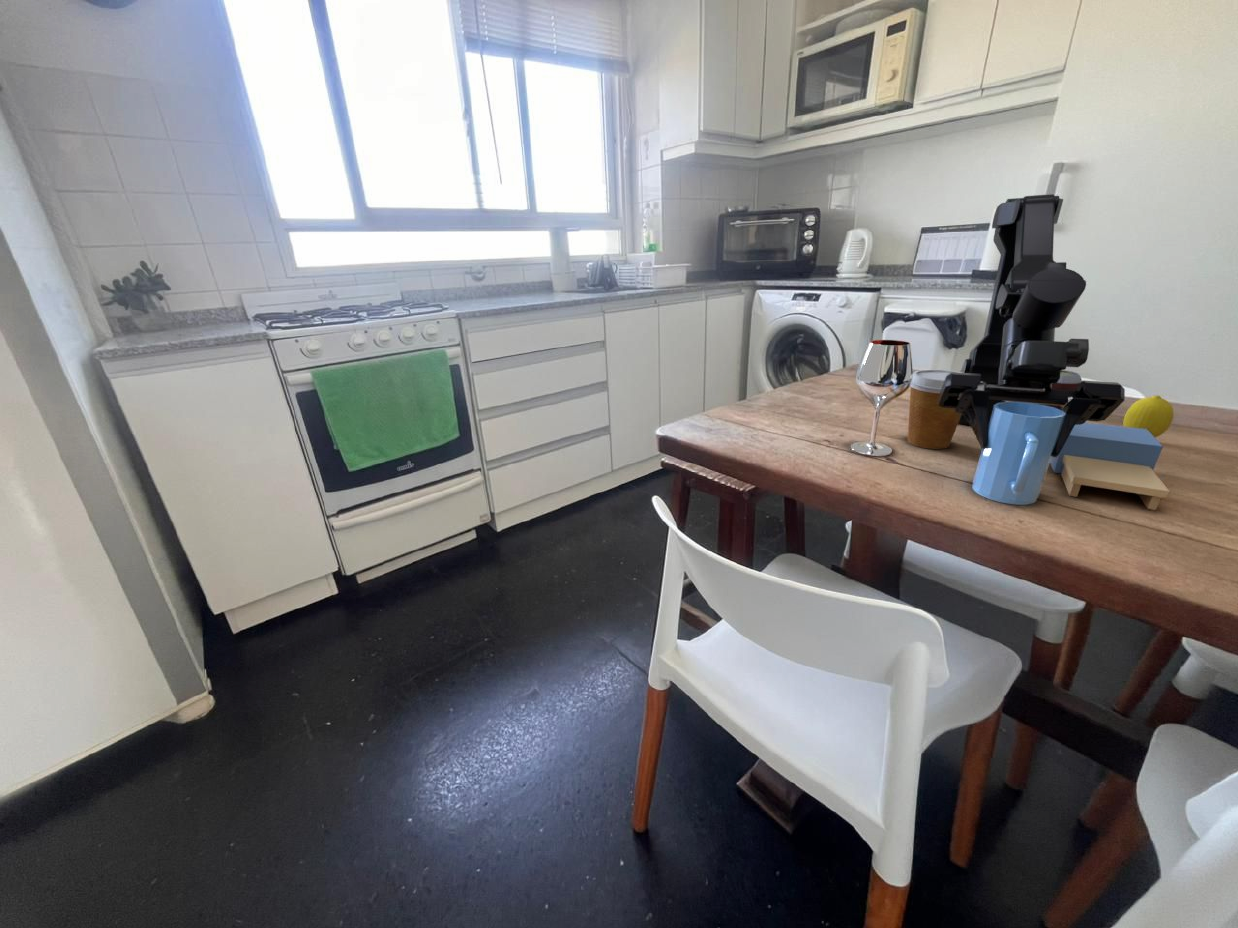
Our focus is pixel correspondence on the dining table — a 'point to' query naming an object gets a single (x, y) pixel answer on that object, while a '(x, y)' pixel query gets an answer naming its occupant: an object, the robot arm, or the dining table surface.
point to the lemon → (1150, 415)
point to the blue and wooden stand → (1111, 461)
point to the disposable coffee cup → (930, 411)
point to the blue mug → (1017, 451)
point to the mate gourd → (1066, 383)
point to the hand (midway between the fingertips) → (1018, 451)
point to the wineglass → (882, 383)
